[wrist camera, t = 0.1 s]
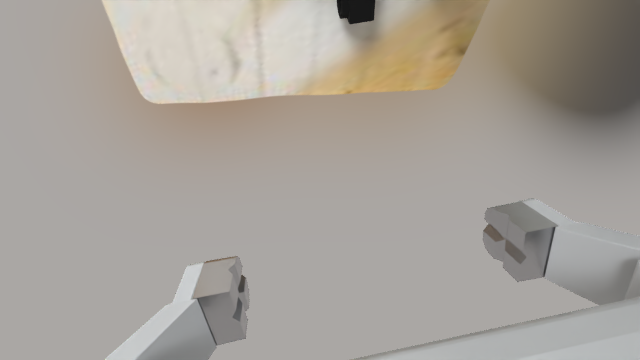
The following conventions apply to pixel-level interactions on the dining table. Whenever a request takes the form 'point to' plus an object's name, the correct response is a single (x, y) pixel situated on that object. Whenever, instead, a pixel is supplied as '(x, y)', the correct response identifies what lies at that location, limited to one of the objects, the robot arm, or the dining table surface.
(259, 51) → the dining table surface
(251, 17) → the dining table surface
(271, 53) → the dining table surface
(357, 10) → the digital camera
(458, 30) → the dining table surface
